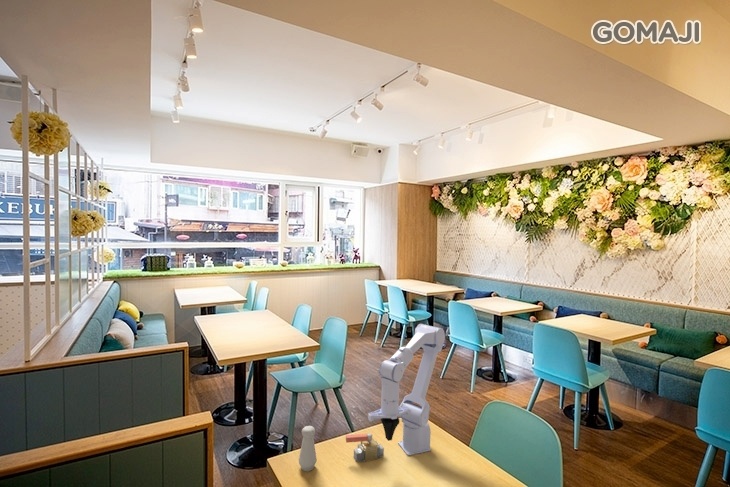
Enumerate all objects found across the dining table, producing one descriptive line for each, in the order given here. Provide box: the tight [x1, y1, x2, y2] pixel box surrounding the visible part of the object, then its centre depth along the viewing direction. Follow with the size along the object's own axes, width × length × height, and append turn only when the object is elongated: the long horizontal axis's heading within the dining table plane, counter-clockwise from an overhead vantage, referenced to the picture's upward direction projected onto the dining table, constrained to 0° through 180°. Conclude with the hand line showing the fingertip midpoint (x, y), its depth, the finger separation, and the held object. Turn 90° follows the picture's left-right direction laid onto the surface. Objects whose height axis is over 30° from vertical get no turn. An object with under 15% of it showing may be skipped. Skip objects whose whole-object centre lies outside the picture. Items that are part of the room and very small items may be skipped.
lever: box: [345, 432, 373, 443], centre depth 123 cm, size 9×2×2 cm, turn 100°
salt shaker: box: [298, 425, 317, 472], centre depth 117 cm, size 6×6×13 cm
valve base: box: [353, 437, 385, 463], centre depth 124 cm, size 10×4×6 cm, turn 111°
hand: (388, 438), depth 118 cm, fingers closed
